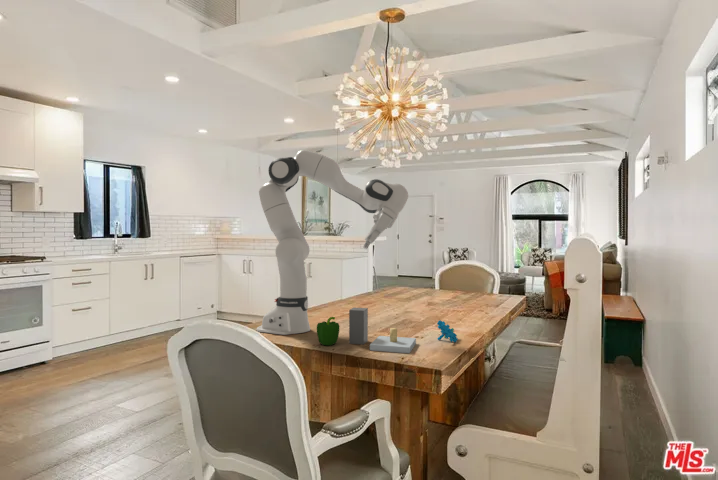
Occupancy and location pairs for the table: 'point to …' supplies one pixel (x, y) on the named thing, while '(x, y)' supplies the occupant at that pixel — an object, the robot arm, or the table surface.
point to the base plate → (393, 343)
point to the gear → (446, 331)
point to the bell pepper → (328, 332)
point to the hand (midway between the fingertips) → (367, 244)
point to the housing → (358, 325)
